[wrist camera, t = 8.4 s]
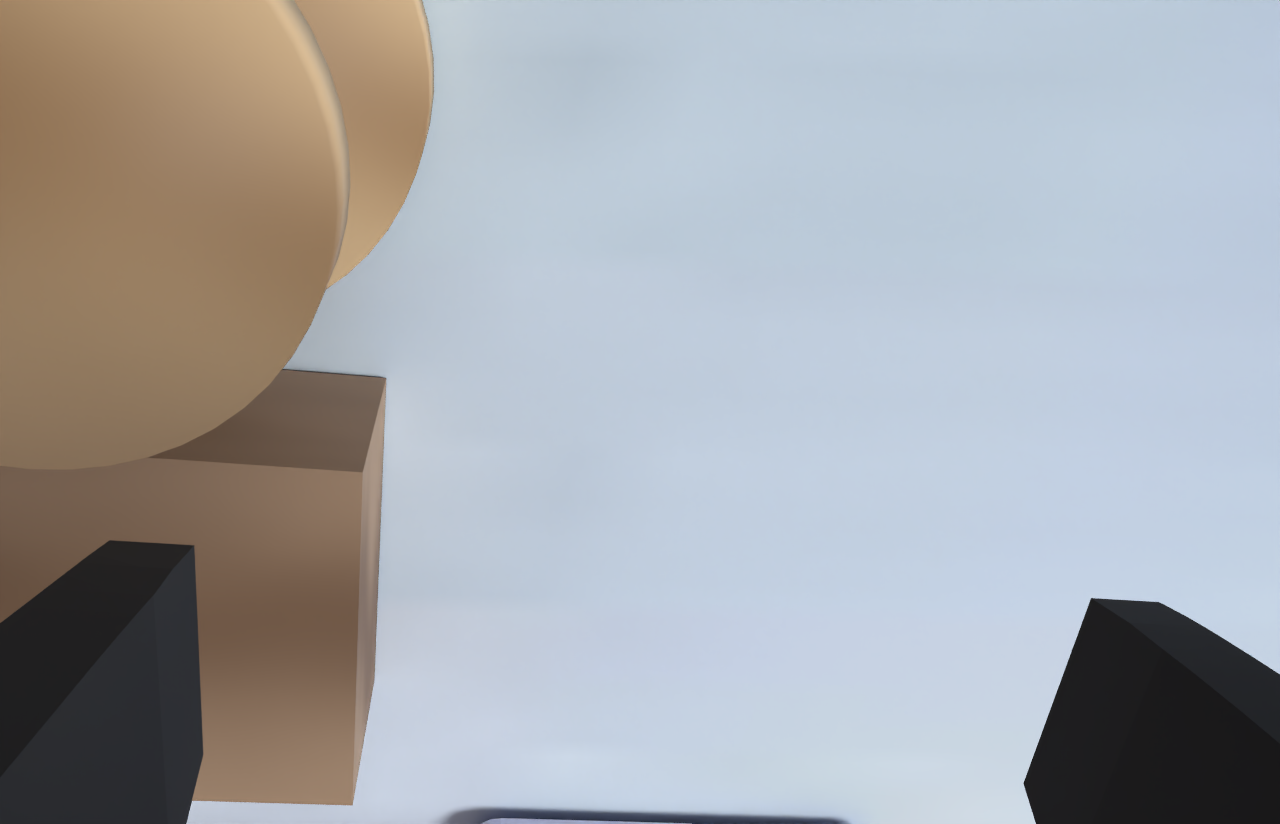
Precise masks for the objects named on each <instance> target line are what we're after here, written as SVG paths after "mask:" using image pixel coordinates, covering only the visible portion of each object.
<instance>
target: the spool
mask: <svg viewBox="0 0 1280 824" xmlns="http://www.w3.org/2000/svg"><path fill="white" fill-rule="evenodd" d="M433 95H434V67H433V52H432V45H431V38H430V31H429V24H428V20H427V17H426V13H425V9H424V6H423V2H422V0H0V466H7V467H15V468H23V469H49V470H73V469H83V468H93V467H103V466H111V465H116V464H120V463H125V462H129V461H134V460H138V459H143V458H147V457H150V456H153V455H156V454H158V453H161V452H164V451H167V450H170V449H173V448H176V447H178V446H181V445H183V444H185V443H187V442H189V441H191V440H193V439H195V438H197V437H199V436H201V435H203V434H205V433H207V432H209V431H211V430H213V429H215V428H216V427H218V426H219V425H220V424H222V423H223V422H225V421H226V420H228V419H229V418H231V417H232V416H234V415H235V414H236V413H238V412H239V411H241V410H242V409H244V408H245V407H246V406H247V405H248V404H249V403H250V402H251V401H252V400H253V399H254V398H256V397H257V396H258V395H259V394H260V393H261V392H262V391H263V390H264V389H265V388H266V387H267V386H268V385H270V383H271V382H272V381H273V380H274V378H275V377H276V376H277V375H278V374H279V372H280V371H281V370H282V369H283V367H284V366H285V365H286V364H287V362H288V361H289V360H290V359H291V357H292V356H293V354H294V353H295V351H296V349H297V347H298V346H299V344H300V342H301V341H302V339H303V337H304V335H305V334H306V332H307V330H308V329H309V327H310V325H311V323H312V321H313V318H314V316H315V314H316V311H317V309H318V307H319V304H320V302H321V300H322V297H323V295H324V293H325V290H326V289H327V288H329V287H330V286H331V285H333V284H334V283H336V282H337V281H339V280H340V279H341V278H343V277H344V276H346V275H347V274H348V273H349V272H350V271H351V270H352V269H353V268H354V267H355V266H356V265H357V264H359V263H360V262H361V261H362V260H363V259H364V258H365V257H366V256H367V255H368V254H369V253H370V252H371V250H372V249H373V248H374V247H375V245H376V244H377V243H378V242H379V240H380V239H381V238H382V237H383V236H384V234H385V233H386V232H387V231H388V229H389V227H390V226H391V224H392V222H393V221H394V219H395V217H396V216H397V214H398V212H399V210H400V209H401V207H402V205H403V204H404V202H405V199H406V197H407V194H408V192H409V190H410V187H411V185H412V182H413V180H414V178H415V175H416V173H417V169H418V166H419V163H420V160H421V156H422V153H423V149H424V145H425V141H426V138H427V134H428V130H429V126H430V120H431V111H432V103H433Z"/></svg>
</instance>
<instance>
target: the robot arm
mask: <svg viewBox="0 0 1280 824" xmlns="http://www.w3.org/2000/svg"><path fill="white" fill-rule="evenodd" d="M202 758H203V734H202V710H201V687H200V664H199V641H198V618H197V594H196V571H195V548H194V545H182V544H165V543H148V542H131V541H114V540H109V541H108V542H106V543H105V544H104V545H102V546H101V547H99V548H98V549H97V550H95V551H94V552H92V553H91V554H90V555H88V556H87V557H86V558H84V559H83V560H82V561H80V562H79V563H78V564H77V565H75V566H74V567H73V568H71V569H70V570H69V571H67V572H66V573H65V574H63V575H62V576H61V577H60V578H58V579H57V580H56V581H54V582H53V583H52V584H50V585H49V586H48V587H46V588H45V589H44V590H43V591H41V592H40V593H39V594H37V595H36V596H35V597H33V598H32V599H31V600H29V601H28V602H27V603H26V604H24V605H23V606H22V607H20V608H19V609H18V610H16V611H15V612H14V613H13V614H11V615H10V616H9V617H7V618H6V619H5V620H3V621H2V622H1V623H0V824H186V822H187V818H188V814H189V810H190V806H191V802H192V798H193V794H194V790H195V786H196V782H197V778H198V774H199V770H200V766H201V762H202ZM1024 786H1025V790H1026V793H1027V796H1028V799H1029V803H1030V806H1031V809H1032V812H1033V815H1034V819H1035V822H1036V824H1280V674H1278V673H1277V672H1275V671H1273V670H1272V669H1270V668H1269V667H1267V666H1266V665H1264V664H1263V663H1261V662H1260V661H1258V660H1256V659H1255V658H1253V657H1252V656H1250V655H1249V654H1247V653H1245V652H1244V651H1242V650H1241V649H1239V648H1237V647H1236V646H1234V645H1233V644H1231V643H1229V642H1228V641H1226V640H1225V639H1223V638H1222V637H1220V636H1218V635H1217V634H1215V633H1213V632H1212V631H1210V630H1208V629H1207V628H1205V627H1203V626H1202V625H1200V624H1198V623H1196V622H1195V621H1193V620H1191V619H1189V618H1188V617H1186V616H1184V615H1182V614H1180V613H1178V612H1177V611H1175V610H1173V609H1171V608H1169V607H1167V606H1165V605H1163V604H1161V603H1159V602H1146V601H1129V600H1112V599H1095V598H1091V600H1090V603H1089V606H1088V608H1087V611H1086V614H1085V617H1084V619H1083V622H1082V625H1081V628H1080V630H1079V633H1078V636H1077V639H1076V641H1075V644H1074V647H1073V649H1072V652H1071V655H1070V658H1069V660H1068V663H1067V666H1066V669H1065V671H1064V674H1063V677H1062V680H1061V682H1060V685H1059V688H1058V690H1057V693H1056V696H1055V699H1054V701H1053V704H1052V707H1051V710H1050V712H1049V715H1048V718H1047V721H1046V723H1045V726H1044V729H1043V731H1042V734H1041V737H1040V740H1039V742H1038V745H1037V748H1036V751H1035V753H1034V756H1033V759H1032V762H1031V764H1030V767H1029V770H1028V773H1027V775H1026V778H1025V781H1024ZM481 824H690V823H655V822H621V821H586V820H551V819H516V818H497V819H490V820H488V821H486V822H483V823H481Z"/></svg>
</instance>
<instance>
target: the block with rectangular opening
mask: <svg viewBox="0 0 1280 824" xmlns="http://www.w3.org/2000/svg"><path fill="white" fill-rule="evenodd" d="M385 397H386V378H379V377H367V376H354V375H342V374H329V373H317V372H304V371H292V370H281V371H280V372H279V374H278V375H277V376H276V377H275V378H274V380H273V381H272V382H271V383H270V385H268V386H267V387H266V388H265V389H264V390H263V391H262V392H261V393H260V394H259V395H258V396H257V397H256V398H254V399H253V400H252V401H251V402H250V403H249V404H248V405H247V406H246V407H245V408H244V409H242V410H241V411H239V412H238V413H236V414H235V415H234V416H232V417H231V418H229V419H228V420H226V421H225V422H223V423H222V424H220V425H219V426H218V427H216V428H215V429H213V430H211V431H209V432H207V433H205V434H203V435H201V436H199V437H197V438H195V439H193V440H191V441H189V442H187V443H185V444H183V445H181V446H178V447H176V448H173V449H170V450H167V451H164V452H161V453H158V454H156V455H153V456H150V457H147V458H143V459H138V460H134V461H129V462H125V463H120V464H116V465H111V466H103V467H93V468H83V469H73V470H49V469H23V468H15V467H7V466H0V623H1V622H2V621H3V620H5V619H6V618H7V617H9V616H10V615H11V614H13V613H14V612H15V611H16V610H18V609H19V608H20V607H22V606H23V605H24V604H26V603H27V602H28V601H29V600H31V599H32V598H33V597H35V596H36V595H37V594H39V593H40V592H41V591H43V590H44V589H45V588H46V587H48V586H49V585H50V584H52V583H53V582H54V581H56V580H57V579H58V578H60V577H61V576H62V575H63V574H65V573H66V572H67V571H69V570H70V569H71V568H73V567H74V566H75V565H77V564H78V563H79V562H80V561H82V560H83V559H84V558H86V557H87V556H88V555H90V554H91V553H92V552H94V551H95V550H97V549H98V548H99V547H101V546H102V545H104V544H105V543H106V542H108V541H109V540H114V541H131V542H148V543H165V544H182V545H194V548H195V571H196V594H197V618H198V641H199V664H200V687H201V710H202V734H203V758H202V762H201V766H200V770H199V774H198V778H197V782H196V786H195V790H194V794H193V798H192V801H225V802H258V803H292V804H326V805H353V799H354V793H355V788H356V782H357V776H358V771H359V765H360V759H361V753H362V748H363V742H364V736H365V730H366V725H367V719H368V713H369V708H370V702H371V696H372V690H373V685H374V675H375V650H376V624H377V599H378V574H379V549H380V523H381V498H382V473H383V447H384V422H385Z"/></svg>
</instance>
